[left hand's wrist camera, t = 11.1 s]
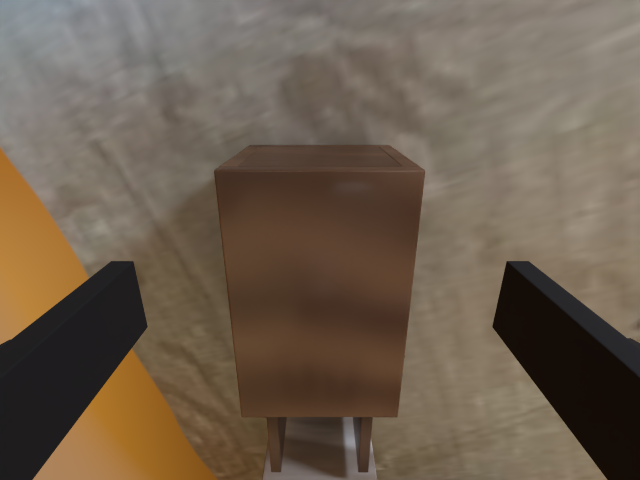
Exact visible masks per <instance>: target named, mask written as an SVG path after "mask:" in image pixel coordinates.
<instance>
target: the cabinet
mask: <svg viewBox="0 0 640 480" xmlns="http://www.w3.org/2000/svg"><path fill="white" fill-rule="evenodd" d="M214 174H215V183H216V192H217V201H218V210H219V218H220V227H221V236H222V245H223V254H224V263H225V272H226V281H227V290H228V299H229V308H230V316H231V325H232V334H233V343H234V352H235V361H236V370H237V379H238V388H239V397H240V406H241V414H242V417H397V416H398V408H399V400H400V391H401V382H402V373H403V364H404V355H405V346H406V337H407V328H408V319H409V310H410V301H411V293H412V284H413V275H414V266H415V257H416V248H417V239H418V230H419V221H420V212H421V203H422V194H423V185H424V177H425V170H424V169H422V168H421V167H420V166H418V165H417V164H415V163H414V162H413V161H411V160H410V159H408V158H407V157H405V156H404V155H402V154H401V153H400V152H398V151H397V150H395V149H394V148H392V147H391V146H390V145H250V146H248V147H247V148H246V149H244V150H243V151H241V152H240V153H238V154H237V155H235V156H234V157H232V158H231V159H229V160H228V161H227V162H225V163H224V164H222V165H221V166H219V167H218V168H217V169H215V170H214Z"/></svg>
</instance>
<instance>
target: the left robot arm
mask: <svg viewBox="0 0 640 480" xmlns="http://www.w3.org/2000/svg"><path fill="white" fill-rule="evenodd" d="M146 328H147V322H146V317H145V313H144V308H143V304H142V299H141V295H140V290H139V285H138V281H137V276H136V272H135V267H134V263H133V261H111V262H110V263H109V264H107V265H106V266H105V267H103V268H102V269H101V270H100V271H98V272H97V273H96V274H95V275H93V276H92V277H91V278H89V279H88V280H87V281H86V282H84V283H83V284H82V285H81V286H79V287H78V288H77V289H75V290H74V291H73V292H72V293H70V294H69V295H68V296H66V297H65V298H64V299H63V300H61V301H60V302H59V303H58V304H56V305H55V306H54V307H52V308H51V309H50V310H49V311H47V312H46V313H45V314H43V315H42V316H41V317H40V318H38V319H37V320H36V321H35V322H33V323H32V324H31V325H29V326H28V327H27V328H26V329H24V330H23V331H22V332H20V333H19V334H18V335H17V336H15V337H14V338H13V339H11V340H8V341H6V342H5V343H3V344H1V345H0V480H32V479H33V478H34V477H35V476H36V474H37V473H38V472H39V470H40V469H41V468H42V466H43V465H44V464H45V462H46V461H47V460H48V458H49V457H50V456H51V454H52V453H53V452H54V450H55V449H56V448H57V446H58V445H59V444H60V442H61V441H62V440H63V438H64V437H65V436H66V434H67V433H68V432H69V430H70V429H71V428H72V426H73V425H74V424H75V422H76V421H77V420H78V418H79V417H80V416H81V415H82V413H83V412H84V410H85V409H86V408H87V407H88V405H89V404H90V403H91V401H92V400H93V399H94V397H95V396H96V395H97V393H98V392H99V391H100V389H101V388H102V387H103V385H104V384H105V383H106V381H107V380H108V379H109V377H110V376H111V375H112V373H113V372H114V371H115V369H116V368H117V367H118V365H119V364H120V363H121V361H122V360H123V359H124V357H125V356H126V355H127V353H128V352H129V351H130V349H131V348H132V347H133V346H134V344H135V343H136V342H137V340H138V339H139V338H140V336H141V335H142V334H143V332H144V331H145V330H146ZM493 328H494V330H495V331H496V332H497V334H498V335H499V336H500V338H501V339H502V340H503V342H504V343H505V344H506V346H507V347H508V348H509V349H510V351H511V352H512V353H513V355H514V356H515V357H516V359H517V360H518V361H519V363H520V364H521V365H522V367H523V368H524V369H525V371H526V372H527V373H528V375H529V376H530V377H531V379H532V380H533V381H534V383H535V384H536V385H537V387H538V388H539V389H540V391H541V392H542V393H543V395H544V396H545V397H546V399H547V400H548V401H549V403H550V404H551V405H552V407H553V408H554V409H555V411H556V412H557V413H558V415H559V416H560V417H561V418H562V420H563V421H564V422H565V424H566V425H567V426H568V428H569V429H570V430H571V432H572V433H573V434H574V436H575V437H576V438H577V440H578V441H579V442H580V444H581V445H582V446H583V448H584V449H585V450H586V452H587V453H588V454H589V456H590V457H591V458H592V460H593V461H594V462H595V464H596V465H597V466H598V468H599V469H600V470H601V472H602V473H603V474H604V476H605V477H606V478H607V480H640V343H638V342H636V341H635V340H633V339H631V338H626V337H625V336H623V335H622V334H621V333H620V332H618V331H617V330H616V329H614V328H613V327H612V326H611V325H609V324H608V323H607V322H606V321H604V320H603V319H602V318H600V317H599V316H598V315H597V314H595V313H594V312H593V311H591V310H590V309H589V308H588V307H586V306H585V305H584V304H583V303H581V302H580V301H579V300H577V299H576V298H575V297H574V296H572V295H571V294H570V293H568V292H567V291H566V290H565V289H563V288H562V287H561V286H560V285H558V284H557V283H556V282H554V281H553V280H552V279H551V278H549V277H548V276H547V275H545V274H544V273H543V272H542V271H540V270H539V269H538V268H537V267H535V266H534V265H533V264H531V263H530V262H529V261H507V263H506V267H505V272H504V276H503V281H502V285H501V290H500V295H499V299H498V304H497V308H496V313H495V317H494V322H493Z"/></svg>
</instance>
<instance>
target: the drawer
mask: <svg viewBox="0 0 640 480" xmlns="http://www.w3.org/2000/svg"><path fill="white" fill-rule="evenodd" d="M267 425H268V445H267V452H266V458H265V465H264V472H263V478H262V480H377V476H376V469H375V462H374V456H373V449H372V442H371V430H372V417H267Z"/></svg>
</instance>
